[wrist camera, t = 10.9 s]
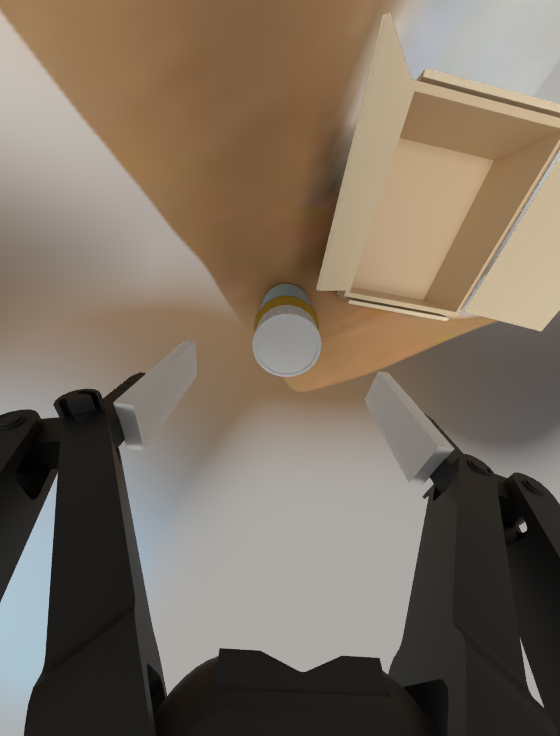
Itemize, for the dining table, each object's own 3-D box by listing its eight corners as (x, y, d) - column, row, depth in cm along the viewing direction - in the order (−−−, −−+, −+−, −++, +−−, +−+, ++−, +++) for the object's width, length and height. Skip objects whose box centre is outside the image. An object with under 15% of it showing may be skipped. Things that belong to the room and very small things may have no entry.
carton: (378, 117, 21) (416, 64, 15) (501, 148, 22) (584, 109, 16) (330, 291, 30) (341, 302, 24) (420, 308, 31) (453, 322, 25)
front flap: (390, 11, 11) (382, 15, 11) (319, 290, 18) (315, 289, 18) (414, 89, 15) (408, 91, 15) (349, 290, 22) (346, 289, 23)
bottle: (317, 295, 30) (342, 329, 17) (296, 336, 33) (303, 390, 20) (273, 274, 29) (264, 293, 16) (256, 318, 32) (236, 365, 19)
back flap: (540, 331, 20) (540, 330, 20) (731, 107, 12) (726, 111, 13) (464, 311, 23) (464, 311, 23) (575, 131, 16) (575, 133, 16)
